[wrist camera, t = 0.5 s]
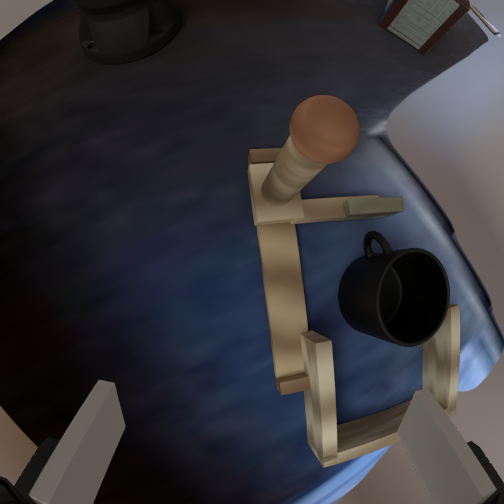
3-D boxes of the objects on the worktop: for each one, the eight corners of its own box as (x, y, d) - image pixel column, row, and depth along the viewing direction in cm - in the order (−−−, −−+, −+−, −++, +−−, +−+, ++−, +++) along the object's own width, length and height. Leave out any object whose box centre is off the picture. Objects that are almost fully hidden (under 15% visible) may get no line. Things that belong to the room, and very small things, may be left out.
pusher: (246, 173, 33) (285, 67, 15) (375, 168, 36) (479, 100, 17) (253, 229, 33) (306, 171, 14) (385, 217, 35) (503, 174, 16)
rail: (247, 158, 34) (250, 149, 31) (281, 155, 34) (286, 147, 32) (276, 387, 32) (281, 395, 30) (310, 380, 33) (317, 387, 30)
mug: (381, 223, 35) (425, 209, 27) (411, 311, 35) (458, 318, 26) (316, 252, 34) (351, 243, 25) (352, 346, 34) (392, 365, 25)
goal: (297, 332, 33) (315, 343, 27) (429, 302, 36) (459, 304, 30) (308, 443, 32) (323, 467, 26) (429, 401, 35) (455, 413, 29)
